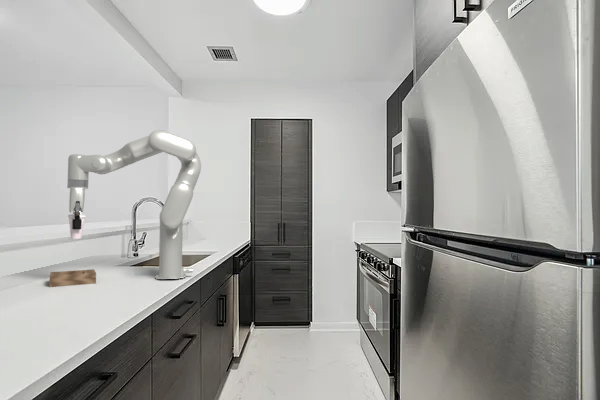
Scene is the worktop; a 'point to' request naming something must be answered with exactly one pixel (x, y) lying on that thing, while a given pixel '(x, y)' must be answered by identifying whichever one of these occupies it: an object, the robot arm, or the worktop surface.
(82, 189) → the robot arm
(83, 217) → the smoothie
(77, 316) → the worktop surface
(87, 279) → the cutout board
